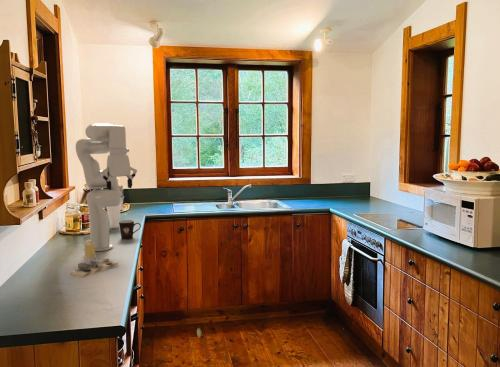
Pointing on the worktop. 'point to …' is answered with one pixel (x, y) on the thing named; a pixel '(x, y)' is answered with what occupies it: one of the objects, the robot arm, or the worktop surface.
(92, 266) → the board
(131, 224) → the coffee mug
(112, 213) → the cup
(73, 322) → the worktop surface
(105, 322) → the worktop surface
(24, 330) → the worktop surface
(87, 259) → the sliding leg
